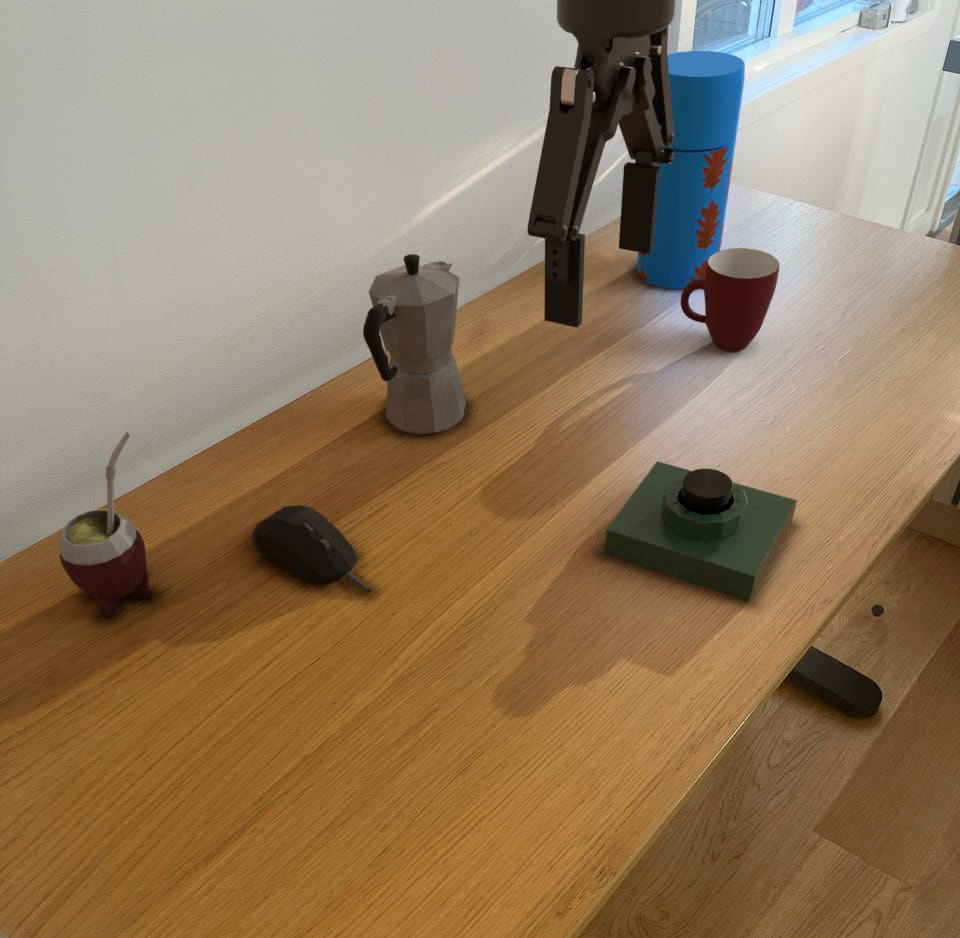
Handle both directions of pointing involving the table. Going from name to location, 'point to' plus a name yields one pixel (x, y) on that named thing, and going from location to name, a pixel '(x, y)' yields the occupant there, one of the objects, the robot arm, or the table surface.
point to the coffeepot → (417, 345)
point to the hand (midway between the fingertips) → (601, 284)
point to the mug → (734, 295)
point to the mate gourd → (106, 551)
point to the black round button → (706, 491)
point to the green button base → (700, 533)
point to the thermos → (695, 167)
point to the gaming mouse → (306, 545)
